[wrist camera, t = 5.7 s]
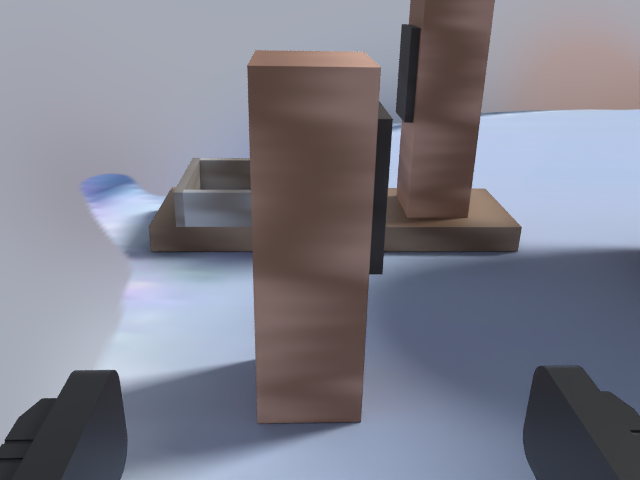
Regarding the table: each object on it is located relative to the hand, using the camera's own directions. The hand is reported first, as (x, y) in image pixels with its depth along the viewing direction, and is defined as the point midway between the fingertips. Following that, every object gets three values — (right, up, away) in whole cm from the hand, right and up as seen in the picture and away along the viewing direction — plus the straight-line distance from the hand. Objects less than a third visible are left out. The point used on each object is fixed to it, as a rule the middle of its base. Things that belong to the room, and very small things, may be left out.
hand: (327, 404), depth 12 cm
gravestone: (+1, +4, +26) cm, 26 cm away
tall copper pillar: (-1, -2, +11) cm, 11 cm away
